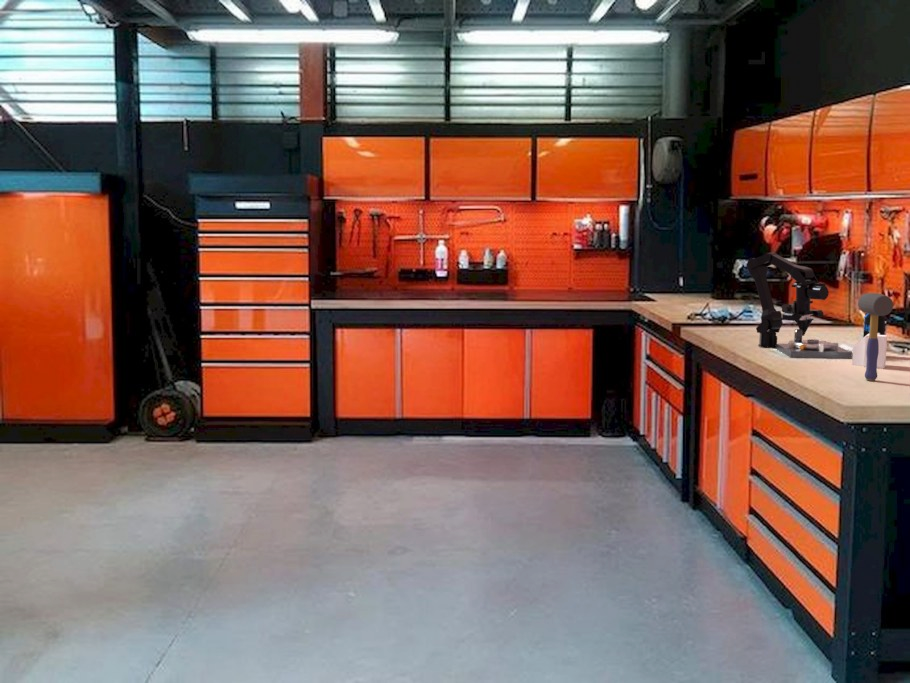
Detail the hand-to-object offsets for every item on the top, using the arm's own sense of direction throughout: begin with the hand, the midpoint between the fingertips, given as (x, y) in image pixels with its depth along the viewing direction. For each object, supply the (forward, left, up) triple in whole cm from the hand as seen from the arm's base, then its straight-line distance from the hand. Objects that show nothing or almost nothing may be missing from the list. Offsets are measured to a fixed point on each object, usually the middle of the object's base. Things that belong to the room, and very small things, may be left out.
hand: (802, 335), depth 394 cm
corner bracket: (+15, -36, -7) cm, 40 cm away
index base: (+3, -6, -7) cm, 10 cm away
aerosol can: (+25, -10, -7) cm, 28 cm away
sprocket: (+3, -6, -4) cm, 8 cm away
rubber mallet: (+4, -71, -7) cm, 72 cm away
